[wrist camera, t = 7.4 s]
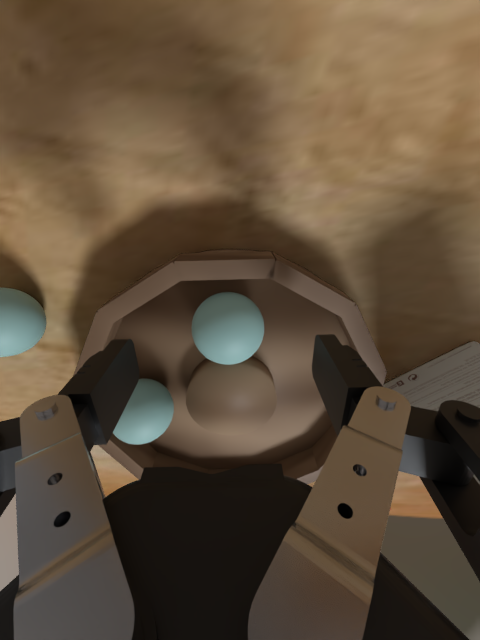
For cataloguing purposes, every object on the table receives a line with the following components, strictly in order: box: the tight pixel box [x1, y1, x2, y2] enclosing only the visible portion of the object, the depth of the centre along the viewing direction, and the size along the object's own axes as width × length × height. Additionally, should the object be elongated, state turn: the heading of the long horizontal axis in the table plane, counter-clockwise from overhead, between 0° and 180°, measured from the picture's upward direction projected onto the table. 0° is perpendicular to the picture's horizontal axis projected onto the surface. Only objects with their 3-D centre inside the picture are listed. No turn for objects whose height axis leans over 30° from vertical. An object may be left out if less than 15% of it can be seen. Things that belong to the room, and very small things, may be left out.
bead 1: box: [0, 288, 46, 357], centre depth 16 cm, size 4×4×4 cm
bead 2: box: [113, 378, 174, 445], centre depth 17 cm, size 4×4×4 cm
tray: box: [73, 249, 387, 484], centre depth 19 cm, size 19×19×3 cm
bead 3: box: [192, 292, 264, 365], centre depth 15 cm, size 4×4×4 cm
